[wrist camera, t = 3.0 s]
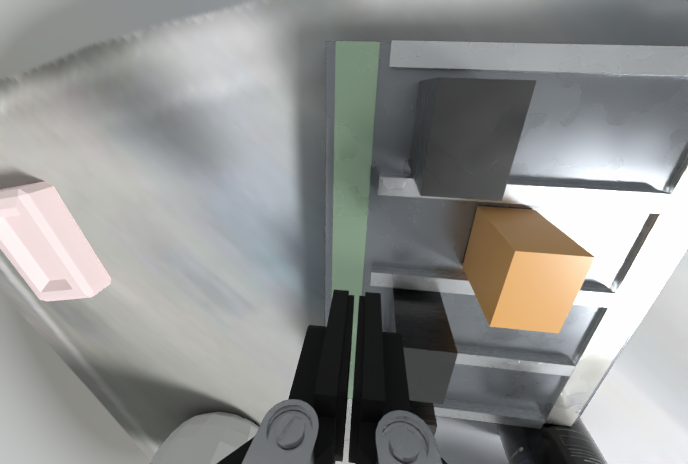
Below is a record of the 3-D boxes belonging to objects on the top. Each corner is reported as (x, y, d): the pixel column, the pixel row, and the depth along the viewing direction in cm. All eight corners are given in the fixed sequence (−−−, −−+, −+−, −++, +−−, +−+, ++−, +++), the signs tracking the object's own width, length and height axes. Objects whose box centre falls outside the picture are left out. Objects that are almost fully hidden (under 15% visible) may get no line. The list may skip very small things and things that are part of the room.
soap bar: (54, 178, 21) (17, 189, 19) (117, 281, 25) (92, 299, 23) (-3, 189, 22) (-44, 199, 20) (66, 286, 26) (37, 304, 24)
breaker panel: (755, 56, 14) (1074, 29, 7) (561, 399, 25) (623, 504, 18) (332, 46, 15) (299, 17, 9) (328, 371, 26) (312, 459, 20)
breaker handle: (534, 209, 16) (595, 257, 11) (513, 271, 18) (558, 333, 13) (477, 205, 16) (515, 251, 12) (462, 266, 18) (489, 326, 13)
